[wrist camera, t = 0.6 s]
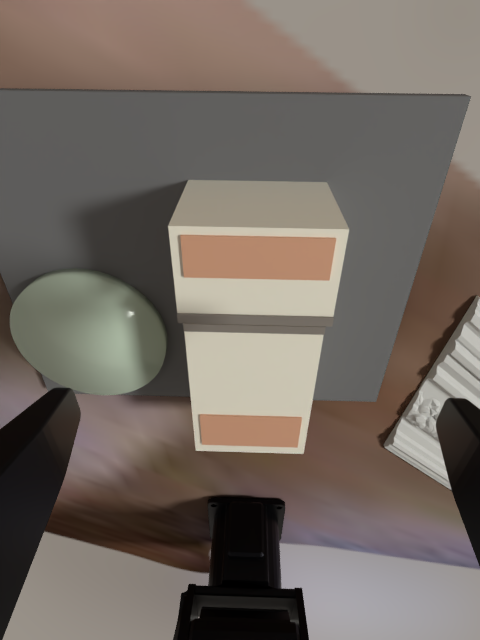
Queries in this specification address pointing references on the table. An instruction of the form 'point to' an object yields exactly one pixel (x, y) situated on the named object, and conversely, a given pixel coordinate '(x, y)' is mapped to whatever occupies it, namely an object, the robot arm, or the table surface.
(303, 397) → the cream labeled box
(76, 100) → the mat
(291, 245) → the cream block
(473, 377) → the crown molding
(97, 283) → the coaster
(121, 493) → the table surface
